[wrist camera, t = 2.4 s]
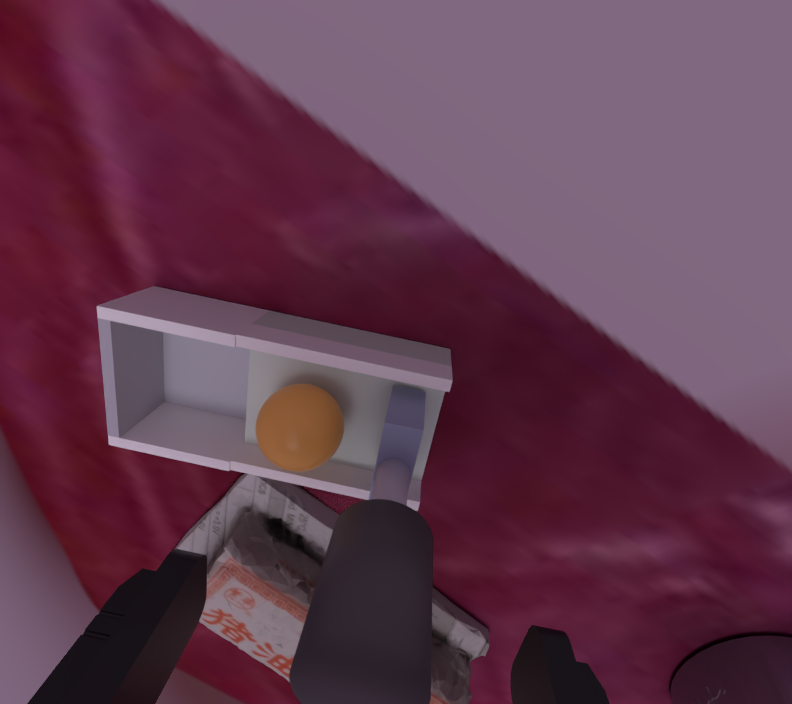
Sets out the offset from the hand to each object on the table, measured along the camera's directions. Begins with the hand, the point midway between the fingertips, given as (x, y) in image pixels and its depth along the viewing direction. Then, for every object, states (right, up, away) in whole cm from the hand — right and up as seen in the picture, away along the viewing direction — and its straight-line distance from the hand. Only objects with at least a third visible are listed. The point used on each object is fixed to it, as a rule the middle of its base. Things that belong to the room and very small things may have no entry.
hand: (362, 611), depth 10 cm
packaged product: (-3, -8, +16) cm, 18 cm away
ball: (-3, +3, +7) cm, 8 cm away
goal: (-8, +6, +10) cm, 14 cm away
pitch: (-1, +4, +10) cm, 11 cm away
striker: (+1, +3, +8) cm, 9 cm away
